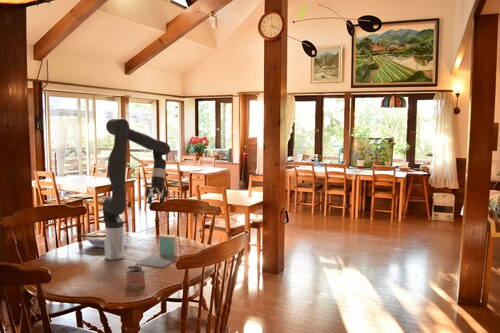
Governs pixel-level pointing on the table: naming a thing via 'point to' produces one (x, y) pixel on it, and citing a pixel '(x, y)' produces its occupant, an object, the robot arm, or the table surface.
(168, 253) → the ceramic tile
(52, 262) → the table surface
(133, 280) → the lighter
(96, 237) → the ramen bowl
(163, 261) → the rubber mat
